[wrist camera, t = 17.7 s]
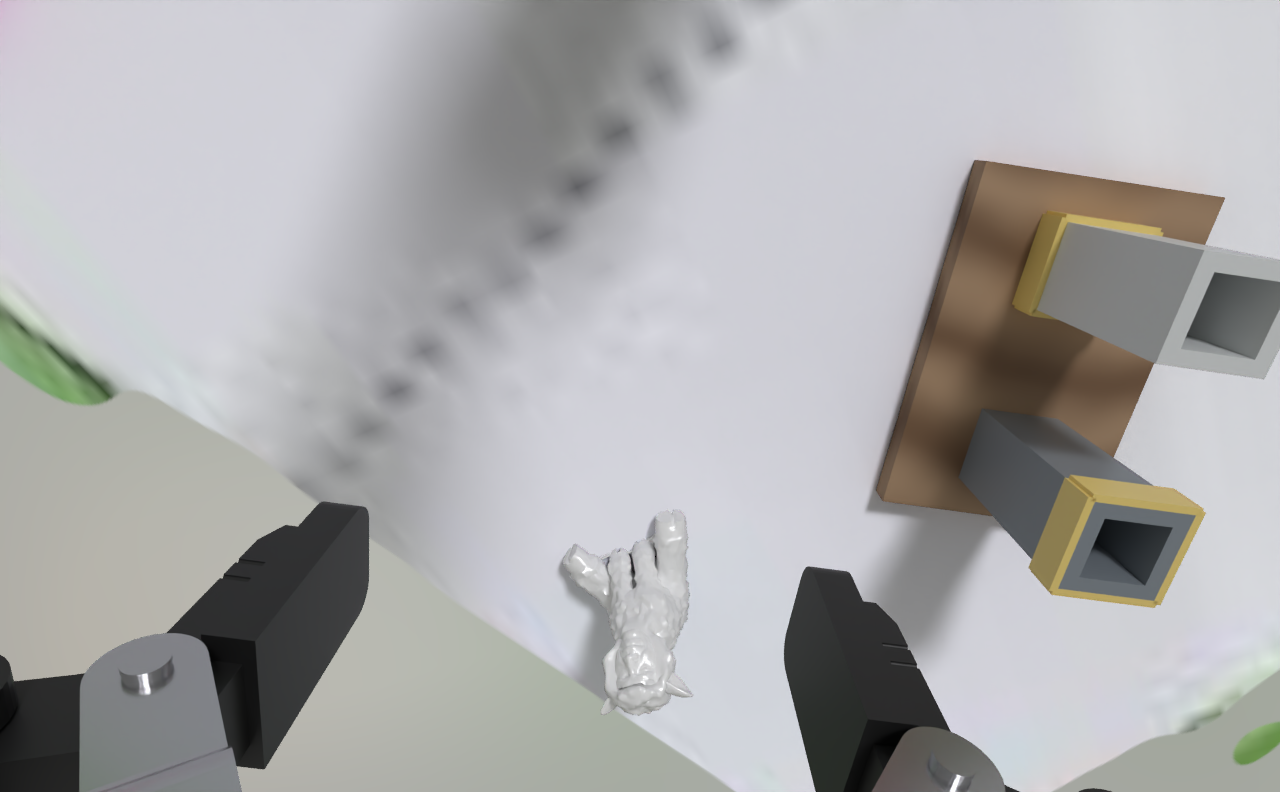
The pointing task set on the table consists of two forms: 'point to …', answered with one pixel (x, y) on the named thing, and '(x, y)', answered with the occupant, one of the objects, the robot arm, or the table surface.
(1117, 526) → the sleeve
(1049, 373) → the pin board
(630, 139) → the table surface
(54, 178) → the table surface
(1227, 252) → the seated sleeve
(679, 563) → the white creature statuette
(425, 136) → the table surface
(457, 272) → the table surface
